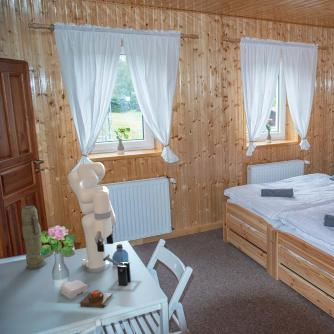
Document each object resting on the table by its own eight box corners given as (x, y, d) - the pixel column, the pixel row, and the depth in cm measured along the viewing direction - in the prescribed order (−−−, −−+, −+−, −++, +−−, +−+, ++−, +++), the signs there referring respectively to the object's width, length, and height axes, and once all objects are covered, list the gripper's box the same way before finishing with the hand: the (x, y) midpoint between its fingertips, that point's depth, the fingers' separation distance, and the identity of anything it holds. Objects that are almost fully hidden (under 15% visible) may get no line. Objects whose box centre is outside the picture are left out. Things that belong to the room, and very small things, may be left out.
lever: (102, 261, 192) (104, 257, 192) (106, 256, 197) (108, 253, 197) (122, 273, 192) (124, 269, 192) (127, 268, 197) (129, 264, 197)
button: (90, 297, 179) (89, 293, 179) (94, 293, 183) (93, 289, 183) (97, 297, 179) (97, 294, 179) (101, 293, 183) (101, 290, 182)
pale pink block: (73, 283, 199) (88, 293, 190) (55, 291, 192) (70, 301, 183) (72, 275, 198) (88, 284, 189) (54, 282, 191) (69, 292, 182)
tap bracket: (109, 289, 193) (107, 267, 190) (117, 280, 202) (115, 259, 199) (132, 290, 192) (131, 269, 189) (139, 281, 200) (138, 260, 198)
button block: (80, 306, 178) (79, 299, 177) (90, 296, 187) (89, 288, 186) (103, 308, 177) (102, 300, 176) (112, 297, 186) (111, 290, 185)
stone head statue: (36, 270, 213) (28, 210, 206) (22, 266, 218) (13, 207, 211) (50, 264, 221) (43, 205, 213) (36, 260, 226) (29, 203, 218)
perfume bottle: (123, 268, 216) (121, 248, 213) (113, 267, 217) (111, 247, 214) (128, 263, 222) (127, 243, 219) (118, 262, 223) (117, 242, 220)
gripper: (103, 209, 198) (106, 240, 202) (86, 220, 182) (89, 254, 185) (117, 209, 198) (120, 241, 201) (101, 221, 181) (104, 255, 184)
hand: (105, 247), depth 193 cm, fingers open, 9 cm apart
